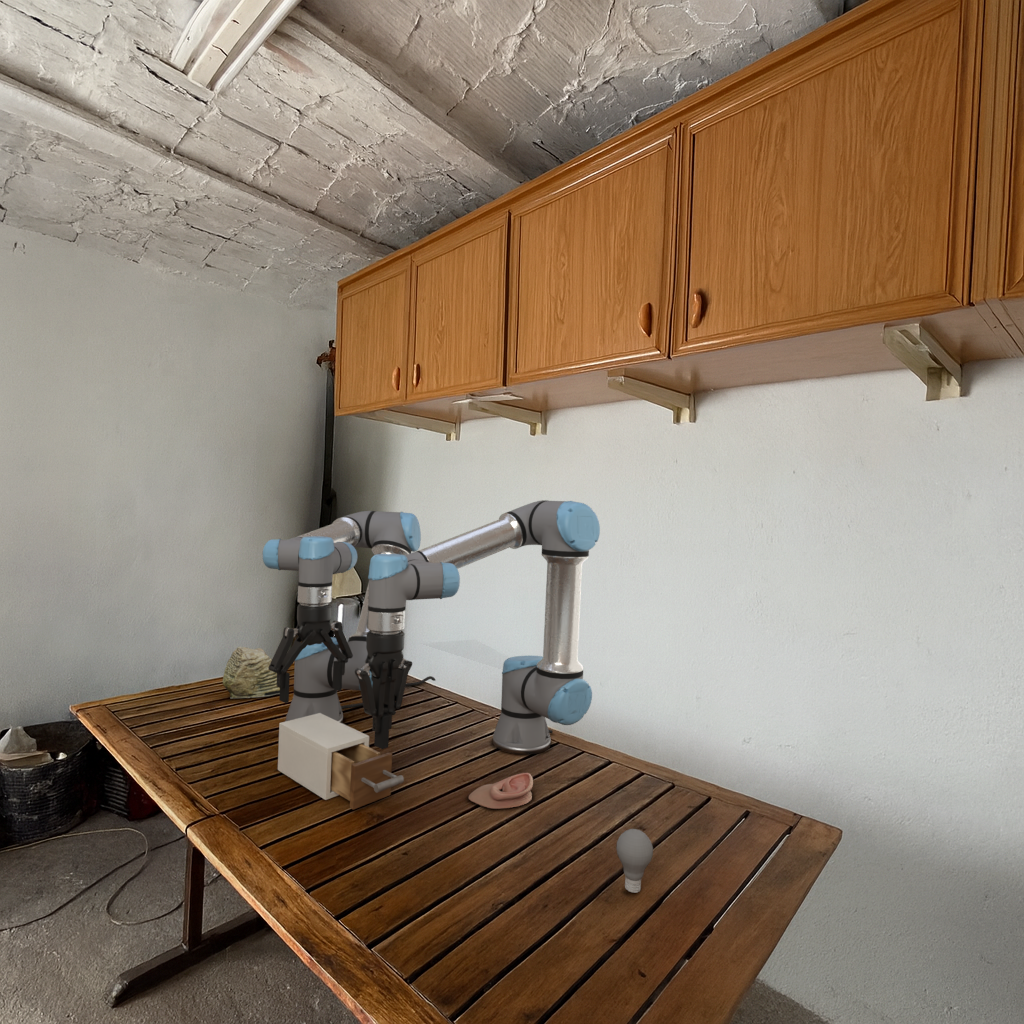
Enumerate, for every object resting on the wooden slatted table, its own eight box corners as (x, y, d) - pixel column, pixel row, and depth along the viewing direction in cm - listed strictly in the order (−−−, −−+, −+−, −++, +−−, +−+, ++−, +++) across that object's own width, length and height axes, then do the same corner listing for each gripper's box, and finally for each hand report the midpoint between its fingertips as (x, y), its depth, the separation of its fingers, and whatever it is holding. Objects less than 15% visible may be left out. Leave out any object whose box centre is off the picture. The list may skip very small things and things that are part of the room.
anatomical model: (464, 786, 132) (478, 764, 144) (464, 804, 133) (478, 781, 144) (527, 794, 130) (536, 771, 141) (526, 813, 130) (535, 789, 141)
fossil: (218, 695, 195) (220, 647, 195) (278, 685, 208) (279, 640, 207) (228, 703, 189) (230, 653, 188) (289, 692, 201) (290, 645, 201)
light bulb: (610, 879, 108) (613, 822, 108) (644, 879, 109) (647, 822, 109) (619, 902, 102) (622, 840, 102) (655, 901, 103) (658, 840, 103)
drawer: (408, 805, 130) (410, 762, 130) (371, 820, 123) (372, 776, 123) (340, 767, 146) (342, 729, 146) (304, 779, 139) (305, 739, 139)
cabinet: (367, 784, 140) (369, 736, 140) (325, 800, 132) (327, 748, 132) (318, 757, 153) (319, 712, 153) (277, 769, 146) (279, 722, 145)
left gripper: (271, 612, 134) (268, 711, 135) (369, 600, 153) (366, 688, 153) (254, 606, 139) (251, 702, 140) (351, 596, 158) (348, 681, 158)
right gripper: (370, 638, 121) (365, 761, 121) (422, 629, 130) (418, 743, 131) (347, 631, 126) (342, 749, 126) (399, 624, 135) (395, 733, 136)
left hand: (311, 695), depth 146 cm, fingers open, 13 cm apart
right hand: (381, 746), depth 129 cm, fingers closed
